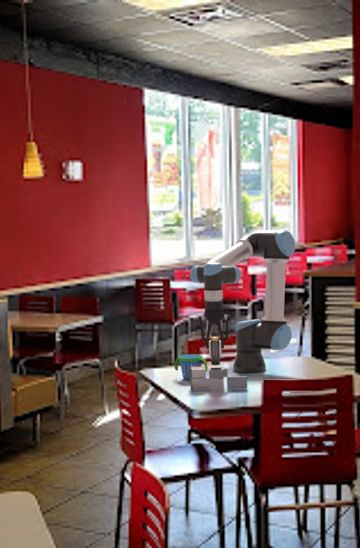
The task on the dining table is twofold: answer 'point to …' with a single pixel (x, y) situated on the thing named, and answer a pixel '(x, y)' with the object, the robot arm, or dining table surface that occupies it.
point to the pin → (215, 351)
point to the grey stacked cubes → (228, 378)
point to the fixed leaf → (206, 381)
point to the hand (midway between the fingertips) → (215, 356)
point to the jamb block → (191, 374)
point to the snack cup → (189, 364)
